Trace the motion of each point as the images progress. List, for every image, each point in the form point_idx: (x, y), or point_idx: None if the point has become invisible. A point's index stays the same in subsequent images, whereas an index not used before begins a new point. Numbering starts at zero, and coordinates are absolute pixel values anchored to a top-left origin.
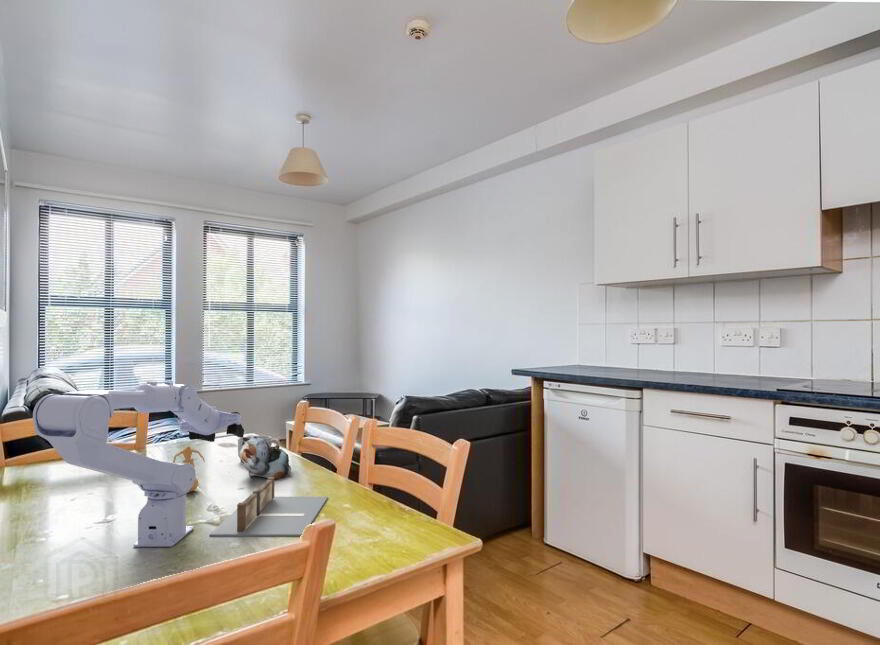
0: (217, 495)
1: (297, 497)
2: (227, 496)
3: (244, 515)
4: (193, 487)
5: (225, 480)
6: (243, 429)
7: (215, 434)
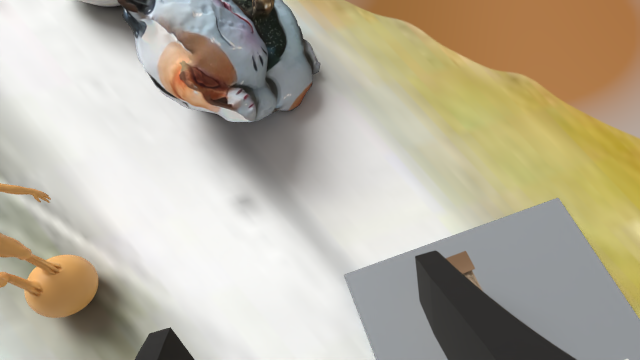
0: (211, 290)
1: (488, 232)
2: (253, 287)
3: None
4: (92, 297)
5: (135, 153)
6: (447, 262)
7: (172, 330)
